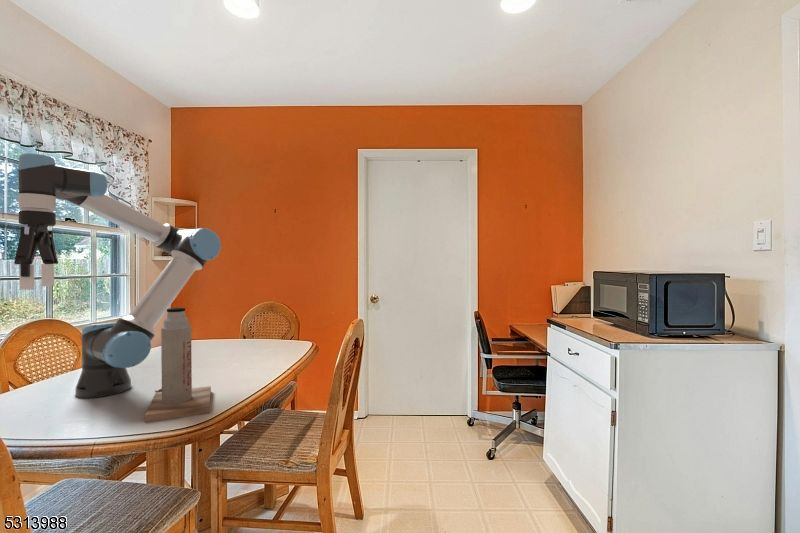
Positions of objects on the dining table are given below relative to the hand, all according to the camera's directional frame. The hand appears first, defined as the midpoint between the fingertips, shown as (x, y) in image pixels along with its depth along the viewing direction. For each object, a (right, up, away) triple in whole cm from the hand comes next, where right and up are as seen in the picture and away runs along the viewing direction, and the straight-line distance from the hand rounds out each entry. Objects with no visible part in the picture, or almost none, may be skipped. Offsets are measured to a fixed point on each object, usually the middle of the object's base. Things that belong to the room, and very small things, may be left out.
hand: (38, 287), depth 108 cm
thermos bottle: (+32, -35, +11) cm, 49 cm away
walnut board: (+33, -37, +12) cm, 51 cm away
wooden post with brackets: (+22, -37, +23) cm, 49 cm away
